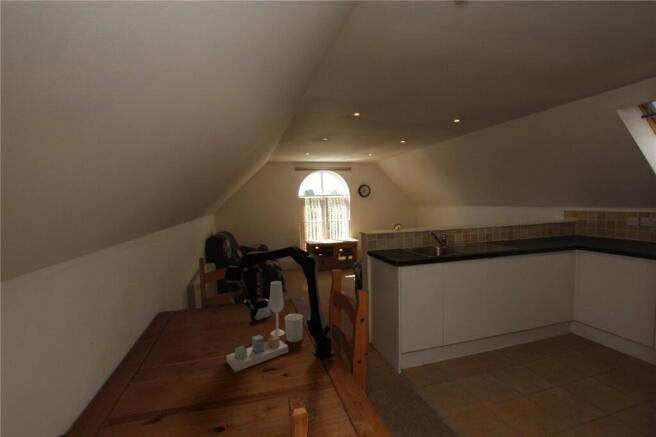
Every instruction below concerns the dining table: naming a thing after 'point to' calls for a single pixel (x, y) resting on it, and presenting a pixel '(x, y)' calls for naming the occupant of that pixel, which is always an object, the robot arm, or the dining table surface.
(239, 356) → the pale green block
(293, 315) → the white cup
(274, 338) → the terracotta button
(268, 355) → the button board
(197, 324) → the dining table surface
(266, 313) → the medicine box
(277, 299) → the champagne flute
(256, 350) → the grey rectangular block
